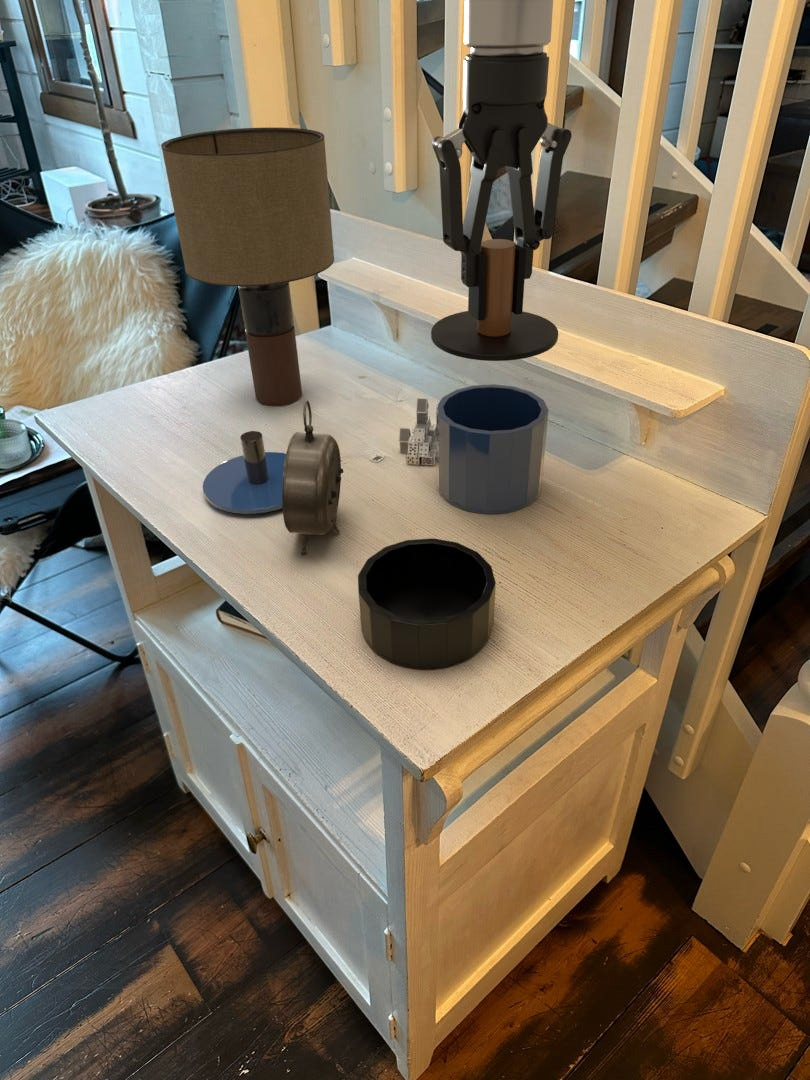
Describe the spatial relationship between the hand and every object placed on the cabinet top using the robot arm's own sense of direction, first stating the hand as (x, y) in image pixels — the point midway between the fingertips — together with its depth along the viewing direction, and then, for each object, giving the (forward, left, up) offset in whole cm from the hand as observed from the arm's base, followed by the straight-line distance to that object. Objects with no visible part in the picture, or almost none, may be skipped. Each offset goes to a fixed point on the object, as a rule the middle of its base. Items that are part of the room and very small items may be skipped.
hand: (495, 312), depth 80 cm
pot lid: (+22, +18, -21) cm, 35 cm away
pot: (0, 0, -22) cm, 22 cm away
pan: (-10, +24, -22) cm, 34 cm away
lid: (0, 0, -3) cm, 3 cm away
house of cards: (+14, -1, -22) cm, 26 cm away
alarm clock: (+9, +20, -22) cm, 31 cm away
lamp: (+40, -1, -22) cm, 46 cm away
